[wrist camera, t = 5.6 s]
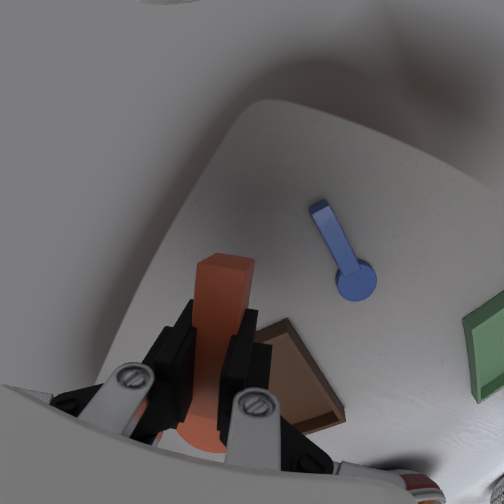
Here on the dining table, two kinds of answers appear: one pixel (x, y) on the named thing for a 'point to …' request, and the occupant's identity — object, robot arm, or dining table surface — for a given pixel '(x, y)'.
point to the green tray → (486, 348)
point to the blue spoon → (344, 256)
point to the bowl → (421, 487)
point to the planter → (498, 493)
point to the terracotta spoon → (214, 340)
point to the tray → (299, 382)
